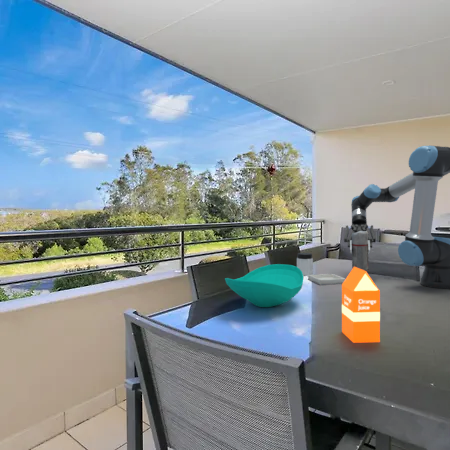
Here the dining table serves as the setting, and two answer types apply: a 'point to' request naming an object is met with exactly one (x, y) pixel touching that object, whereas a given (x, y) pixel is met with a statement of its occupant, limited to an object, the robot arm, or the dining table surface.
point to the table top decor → (268, 284)
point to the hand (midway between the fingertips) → (360, 251)
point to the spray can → (360, 250)
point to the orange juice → (360, 307)
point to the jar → (305, 263)
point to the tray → (326, 279)
